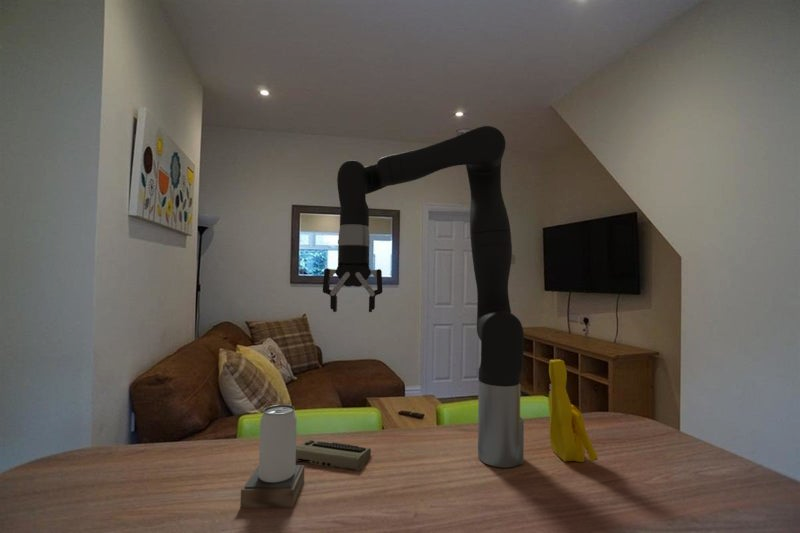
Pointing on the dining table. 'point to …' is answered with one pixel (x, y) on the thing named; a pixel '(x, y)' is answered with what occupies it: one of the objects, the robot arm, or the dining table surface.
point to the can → (277, 444)
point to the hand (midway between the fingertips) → (352, 311)
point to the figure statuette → (566, 419)
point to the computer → (332, 454)
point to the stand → (272, 491)
